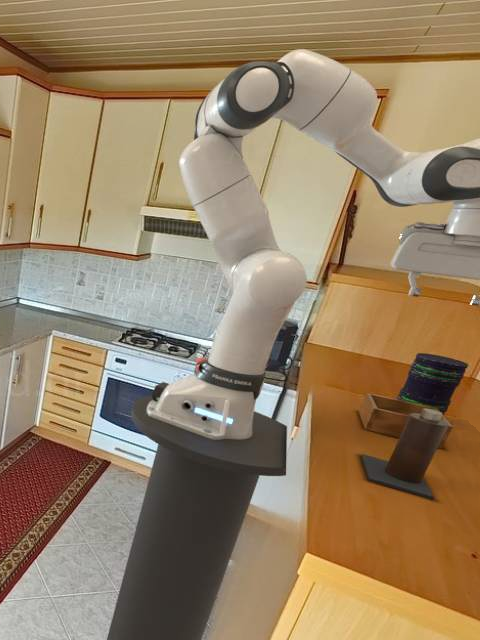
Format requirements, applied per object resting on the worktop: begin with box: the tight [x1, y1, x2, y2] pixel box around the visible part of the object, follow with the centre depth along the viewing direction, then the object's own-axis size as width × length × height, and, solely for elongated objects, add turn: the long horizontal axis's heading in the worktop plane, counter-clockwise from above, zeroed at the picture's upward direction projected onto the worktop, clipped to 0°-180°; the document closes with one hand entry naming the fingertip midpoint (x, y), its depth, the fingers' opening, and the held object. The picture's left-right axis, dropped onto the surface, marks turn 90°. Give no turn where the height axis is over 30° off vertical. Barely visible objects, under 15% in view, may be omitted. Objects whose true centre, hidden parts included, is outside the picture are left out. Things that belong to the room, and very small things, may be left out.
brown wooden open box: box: [358, 392, 454, 450], centre depth 113 cm, size 14×14×5 cm
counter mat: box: [360, 453, 435, 500], centre depth 90 cm, size 9×12×1 cm
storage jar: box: [396, 352, 469, 417], centre depth 123 cm, size 10×10×15 cm
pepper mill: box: [385, 409, 449, 483], centre depth 87 cm, size 5×5×13 cm
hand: (443, 300), depth 96 cm, fingers open, 8 cm apart
